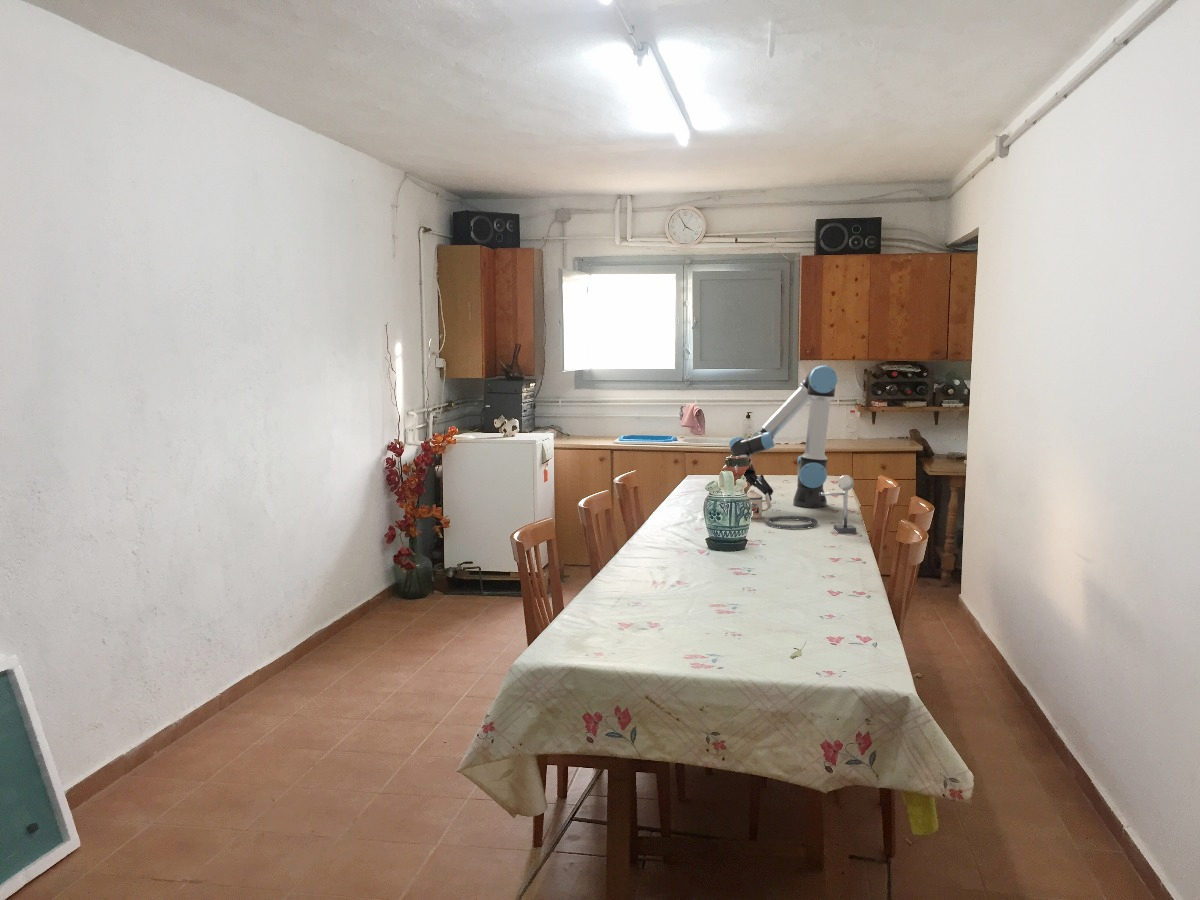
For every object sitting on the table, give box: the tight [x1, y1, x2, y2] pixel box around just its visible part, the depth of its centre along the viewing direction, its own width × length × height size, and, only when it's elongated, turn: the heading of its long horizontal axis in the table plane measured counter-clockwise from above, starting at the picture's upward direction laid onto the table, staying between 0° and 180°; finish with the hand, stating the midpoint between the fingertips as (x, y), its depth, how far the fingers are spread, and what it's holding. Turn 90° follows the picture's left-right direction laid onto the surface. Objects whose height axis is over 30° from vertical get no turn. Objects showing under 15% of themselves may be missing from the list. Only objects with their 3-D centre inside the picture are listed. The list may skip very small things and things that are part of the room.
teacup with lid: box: [746, 489, 769, 519], centre depth 390 cm, size 12×9×12 cm
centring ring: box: [764, 515, 819, 529], centre depth 374 cm, size 21×21×2 cm
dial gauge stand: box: [819, 474, 857, 534], centre depth 357 cm, size 14×7×22 cm, turn 90°
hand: (757, 507), depth 387 cm, fingers closed on teacup with lid, 11 cm apart
